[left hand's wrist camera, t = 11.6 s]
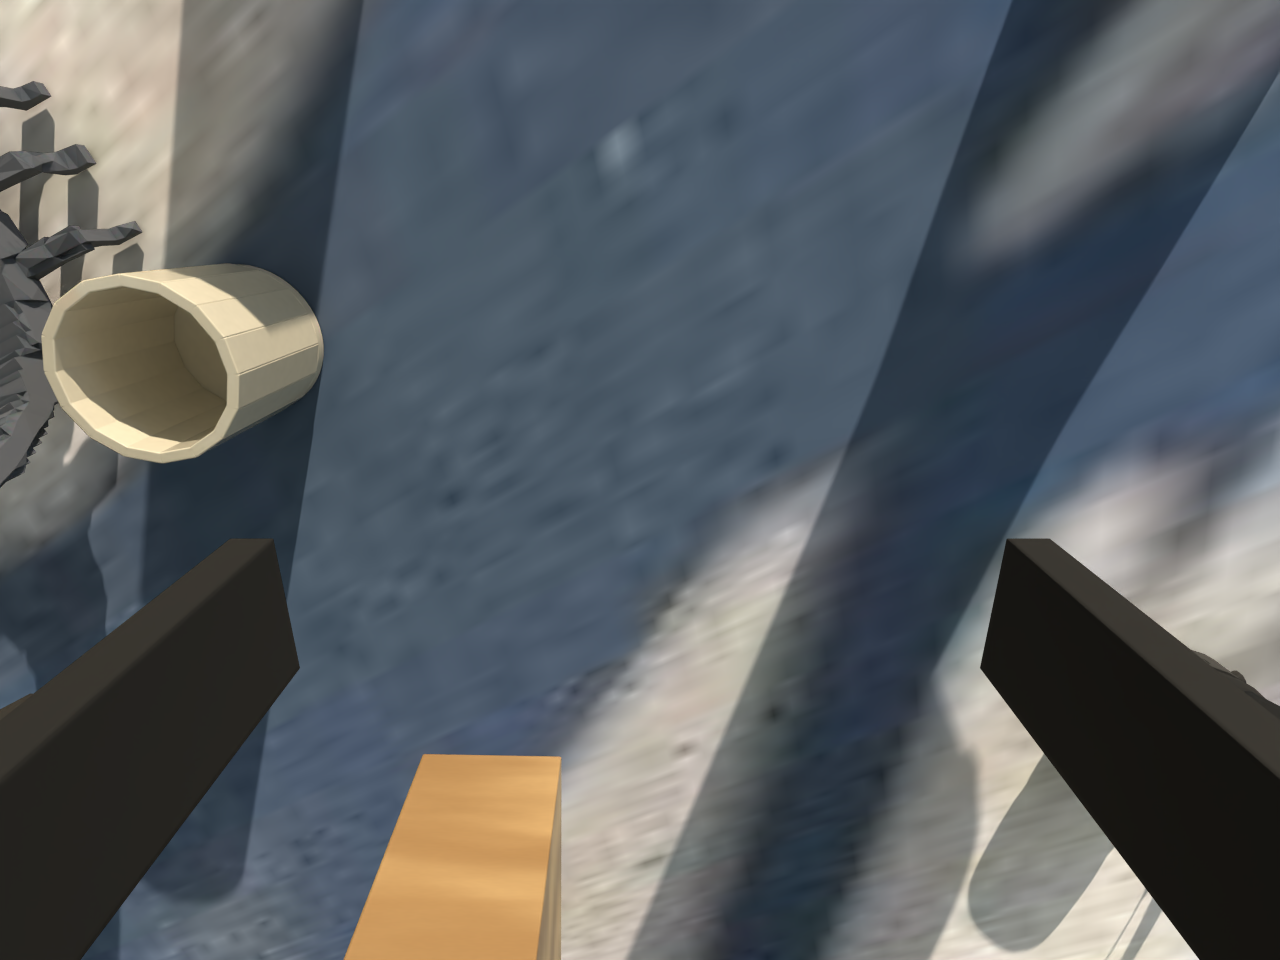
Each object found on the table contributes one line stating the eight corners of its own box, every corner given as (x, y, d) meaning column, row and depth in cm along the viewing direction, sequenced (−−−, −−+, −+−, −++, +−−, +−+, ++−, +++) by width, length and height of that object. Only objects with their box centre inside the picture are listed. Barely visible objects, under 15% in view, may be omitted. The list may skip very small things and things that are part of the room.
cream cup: (253, 233, 36) (138, 235, 27) (354, 361, 38) (277, 400, 29) (142, 317, 37) (-1, 344, 28) (246, 436, 39) (143, 494, 31)
